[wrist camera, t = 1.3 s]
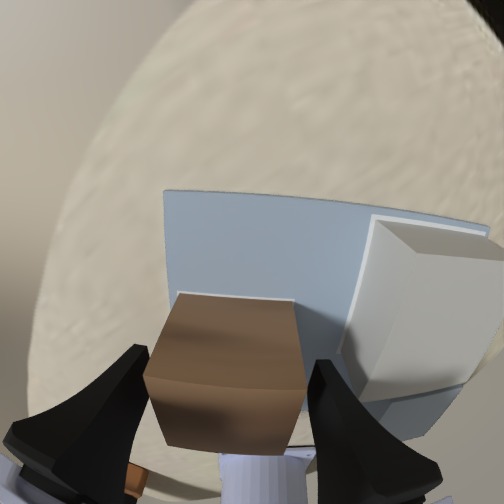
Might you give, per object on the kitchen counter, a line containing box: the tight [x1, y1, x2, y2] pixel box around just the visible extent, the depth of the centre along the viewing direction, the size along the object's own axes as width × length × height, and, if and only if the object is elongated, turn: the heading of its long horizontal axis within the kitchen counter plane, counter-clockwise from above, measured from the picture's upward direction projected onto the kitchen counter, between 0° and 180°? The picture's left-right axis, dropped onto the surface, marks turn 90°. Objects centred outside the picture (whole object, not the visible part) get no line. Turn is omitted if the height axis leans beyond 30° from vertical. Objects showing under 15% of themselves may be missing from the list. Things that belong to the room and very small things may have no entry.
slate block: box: [361, 384, 463, 442], centre depth 13 cm, size 5×5×4 cm
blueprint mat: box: [163, 190, 490, 410], centre depth 13 cm, size 13×16×1 cm
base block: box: [341, 219, 504, 402], centre depth 10 cm, size 7×7×4 cm
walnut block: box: [143, 293, 308, 456], centre depth 11 cm, size 5×5×5 cm
